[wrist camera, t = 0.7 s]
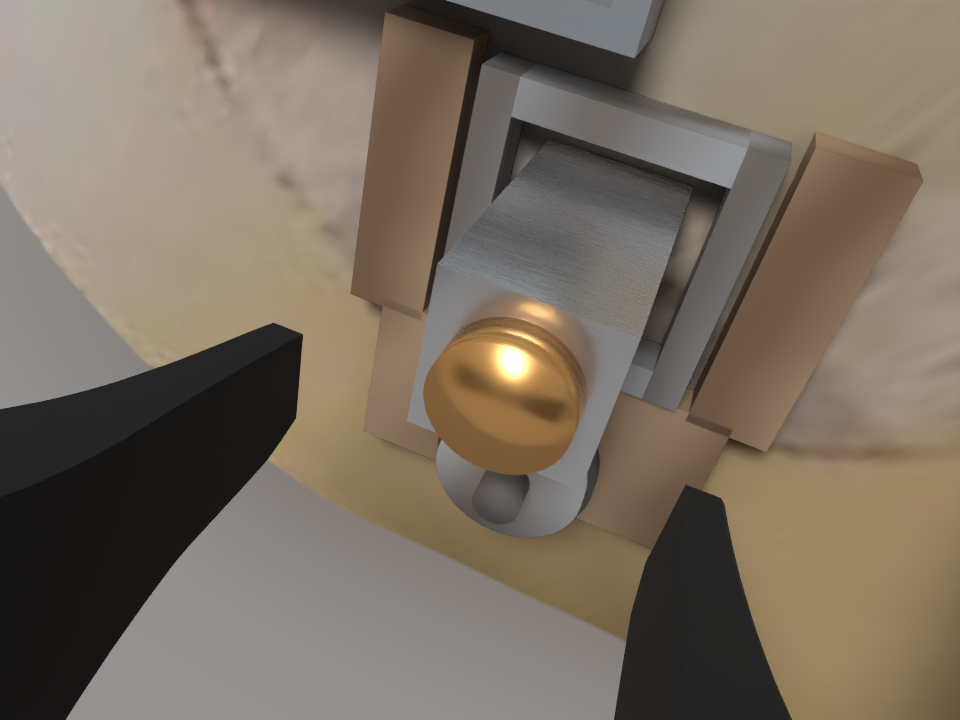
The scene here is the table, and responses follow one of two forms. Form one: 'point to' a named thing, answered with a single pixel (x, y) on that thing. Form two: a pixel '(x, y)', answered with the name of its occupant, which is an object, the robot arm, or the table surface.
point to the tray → (583, 19)
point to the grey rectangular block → (545, 313)
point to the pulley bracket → (669, 367)
